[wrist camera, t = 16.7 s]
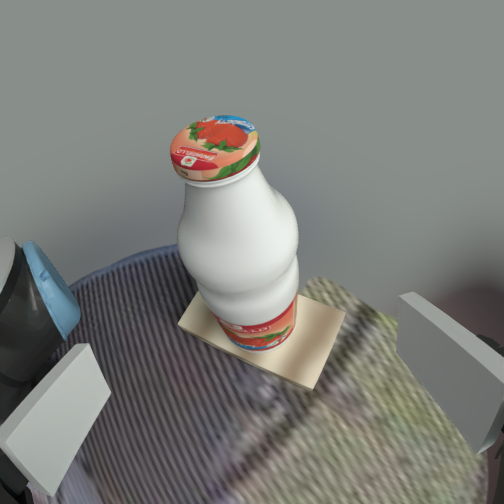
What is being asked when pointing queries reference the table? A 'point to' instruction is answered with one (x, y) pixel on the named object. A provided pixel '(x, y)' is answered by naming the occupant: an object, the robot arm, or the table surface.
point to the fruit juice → (237, 233)
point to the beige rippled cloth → (286, 357)
